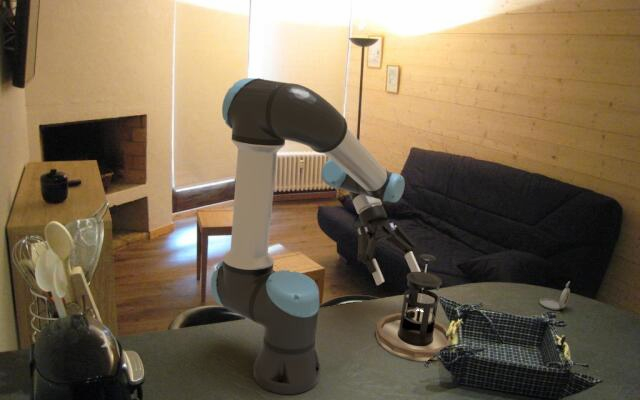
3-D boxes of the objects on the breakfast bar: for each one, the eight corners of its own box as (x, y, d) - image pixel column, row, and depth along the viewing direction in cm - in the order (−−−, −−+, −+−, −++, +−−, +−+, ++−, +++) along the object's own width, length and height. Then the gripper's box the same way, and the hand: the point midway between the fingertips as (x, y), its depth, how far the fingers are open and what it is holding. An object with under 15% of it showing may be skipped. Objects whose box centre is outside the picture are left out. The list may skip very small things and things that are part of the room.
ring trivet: (413, 369, 126) (415, 360, 126) (360, 331, 142) (361, 323, 141) (467, 348, 138) (469, 340, 137) (413, 315, 153) (414, 307, 153)
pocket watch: (536, 299, 171) (543, 271, 169) (563, 303, 170) (570, 275, 168) (543, 311, 164) (550, 282, 161) (571, 315, 163) (578, 285, 160)
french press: (439, 347, 135) (453, 265, 129) (404, 348, 134) (417, 264, 127) (423, 324, 146) (435, 247, 140) (391, 324, 145) (402, 246, 138)
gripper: (394, 211, 160) (423, 276, 153) (328, 220, 146) (356, 292, 138) (409, 199, 154) (439, 266, 147) (342, 208, 140) (372, 282, 133)
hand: (399, 279), depth 143 cm, fingers open, 13 cm apart
